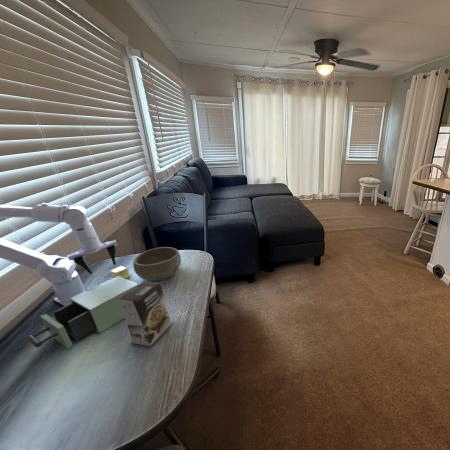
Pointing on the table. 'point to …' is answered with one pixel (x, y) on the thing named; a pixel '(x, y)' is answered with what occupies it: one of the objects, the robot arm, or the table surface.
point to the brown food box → (145, 312)
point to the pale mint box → (105, 301)
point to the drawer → (65, 325)
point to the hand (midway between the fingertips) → (103, 268)
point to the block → (120, 272)
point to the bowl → (157, 263)
